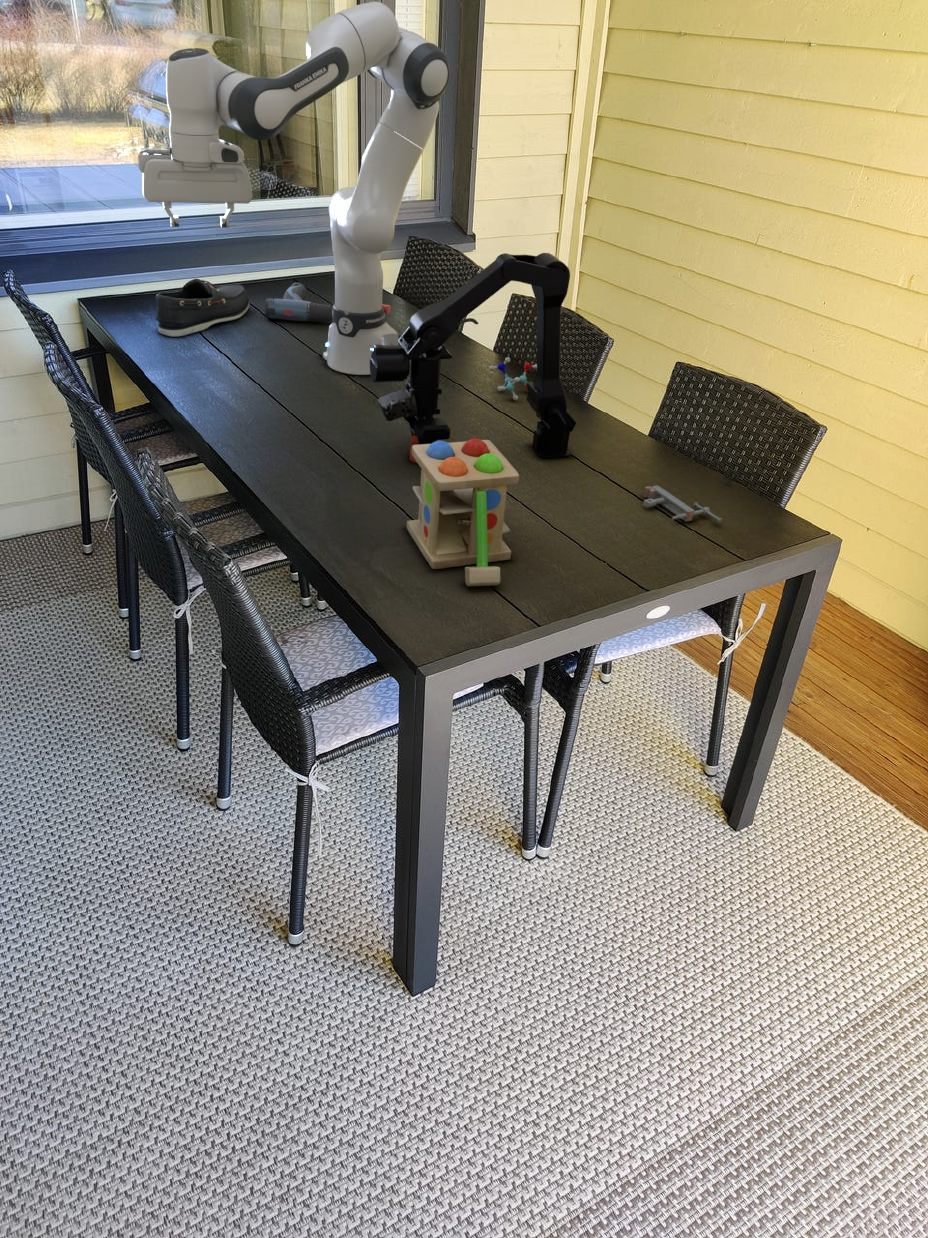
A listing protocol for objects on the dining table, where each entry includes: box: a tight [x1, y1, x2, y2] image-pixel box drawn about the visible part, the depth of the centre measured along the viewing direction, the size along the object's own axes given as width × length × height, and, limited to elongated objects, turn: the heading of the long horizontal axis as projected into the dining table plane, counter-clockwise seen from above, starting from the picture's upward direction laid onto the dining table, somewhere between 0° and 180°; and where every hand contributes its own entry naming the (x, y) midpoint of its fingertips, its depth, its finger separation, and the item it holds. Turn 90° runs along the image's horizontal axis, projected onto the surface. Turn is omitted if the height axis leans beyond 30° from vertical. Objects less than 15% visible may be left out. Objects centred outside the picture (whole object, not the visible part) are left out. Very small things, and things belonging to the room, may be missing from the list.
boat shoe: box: [155, 278, 250, 337], centre depth 253 cm, size 13×33×10 cm, turn 147°
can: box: [409, 435, 418, 464], centre depth 196 cm, size 4×4×4 cm
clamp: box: [643, 484, 723, 524], centre depth 186 cm, size 15×2×10 cm
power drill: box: [264, 282, 333, 322], centre depth 265 cm, size 5×19×20 cm
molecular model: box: [489, 356, 537, 402], centre depth 228 cm, size 12×10×10 cm
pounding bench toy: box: [406, 438, 520, 587], centre depth 162 cm, size 23×14×18 cm, turn 20°
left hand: (200, 226), depth 190 cm, fingers open, 8 cm apart
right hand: (419, 454), depth 196 cm, fingers closed on can, 4 cm apart
